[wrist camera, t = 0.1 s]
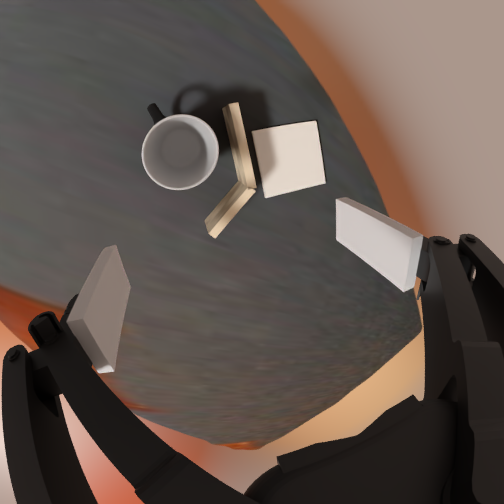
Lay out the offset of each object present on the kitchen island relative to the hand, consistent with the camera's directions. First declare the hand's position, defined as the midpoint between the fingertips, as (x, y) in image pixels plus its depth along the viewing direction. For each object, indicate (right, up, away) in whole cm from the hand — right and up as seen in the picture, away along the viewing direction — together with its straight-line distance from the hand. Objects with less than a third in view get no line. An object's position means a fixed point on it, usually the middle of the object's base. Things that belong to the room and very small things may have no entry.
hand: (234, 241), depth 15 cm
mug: (-10, +16, +21) cm, 29 cm away
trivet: (+7, +15, +27) cm, 31 cm away
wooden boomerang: (-4, +12, +25) cm, 28 cm away
